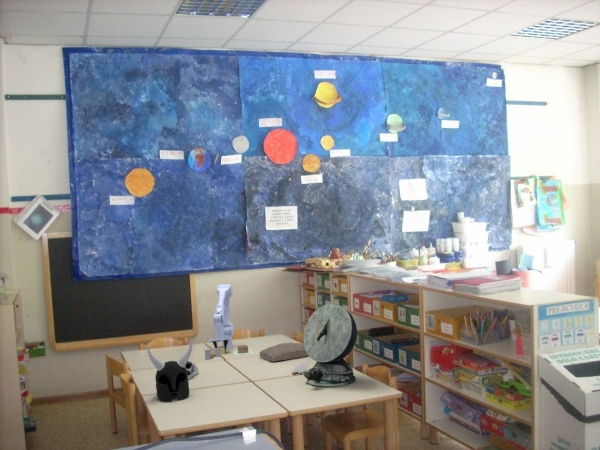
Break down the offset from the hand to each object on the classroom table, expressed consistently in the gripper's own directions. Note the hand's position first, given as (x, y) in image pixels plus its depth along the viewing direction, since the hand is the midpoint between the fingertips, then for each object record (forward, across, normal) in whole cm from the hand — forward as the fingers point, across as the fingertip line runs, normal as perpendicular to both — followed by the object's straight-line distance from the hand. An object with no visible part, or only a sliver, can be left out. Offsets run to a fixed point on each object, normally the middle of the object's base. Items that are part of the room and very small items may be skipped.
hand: (221, 352), depth 406 cm
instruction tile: (+1, -6, -8) cm, 10 cm away
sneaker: (+2, -24, -48) cm, 54 cm away
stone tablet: (+2, +38, -28) cm, 47 cm away
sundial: (+2, +46, -97) cm, 107 cm away
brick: (+1, 0, 0) cm, 1 cm away
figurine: (+2, +38, -72) cm, 82 cm away
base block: (+1, +14, -4) cm, 15 cm away
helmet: (+2, -34, -85) cm, 92 cm away
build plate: (+1, +14, -4) cm, 15 cm away
